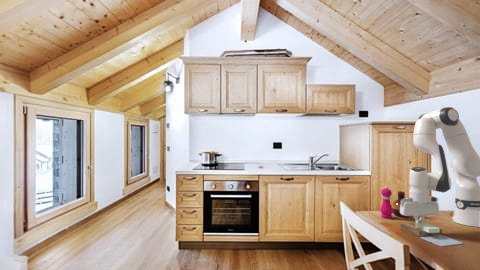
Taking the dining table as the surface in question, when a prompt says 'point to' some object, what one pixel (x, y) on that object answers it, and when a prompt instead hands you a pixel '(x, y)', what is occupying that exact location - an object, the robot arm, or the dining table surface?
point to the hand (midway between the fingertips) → (419, 223)
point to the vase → (398, 204)
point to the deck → (417, 230)
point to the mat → (441, 240)
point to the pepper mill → (386, 204)
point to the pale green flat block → (427, 227)
